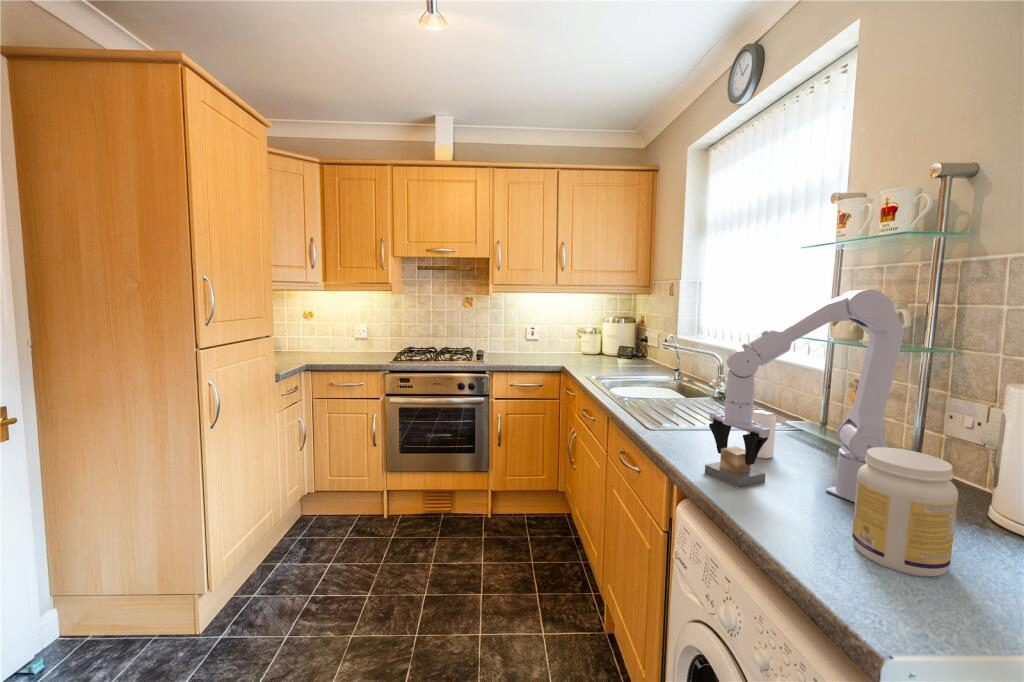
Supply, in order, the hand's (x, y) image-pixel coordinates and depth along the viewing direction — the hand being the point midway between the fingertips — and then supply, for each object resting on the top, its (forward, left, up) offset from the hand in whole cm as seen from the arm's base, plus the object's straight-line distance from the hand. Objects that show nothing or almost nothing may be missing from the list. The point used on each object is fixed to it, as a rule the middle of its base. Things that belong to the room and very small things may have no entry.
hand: (735, 458), depth 102 cm
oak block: (0, 0, -3) cm, 3 cm away
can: (+8, -19, -5) cm, 21 cm away
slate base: (0, 0, -5) cm, 5 cm away
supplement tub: (-33, +2, -5) cm, 33 cm away
